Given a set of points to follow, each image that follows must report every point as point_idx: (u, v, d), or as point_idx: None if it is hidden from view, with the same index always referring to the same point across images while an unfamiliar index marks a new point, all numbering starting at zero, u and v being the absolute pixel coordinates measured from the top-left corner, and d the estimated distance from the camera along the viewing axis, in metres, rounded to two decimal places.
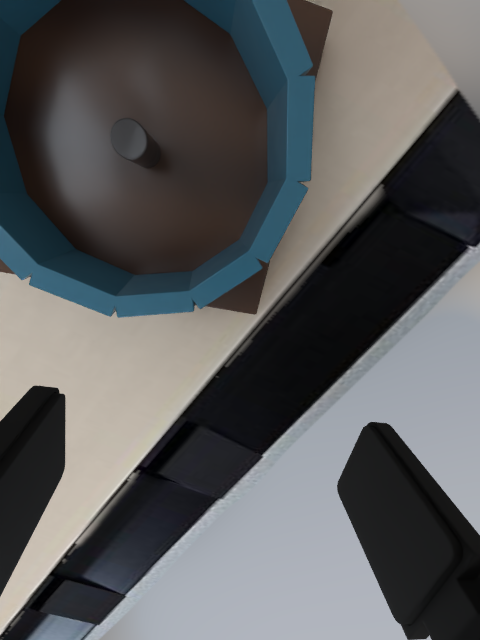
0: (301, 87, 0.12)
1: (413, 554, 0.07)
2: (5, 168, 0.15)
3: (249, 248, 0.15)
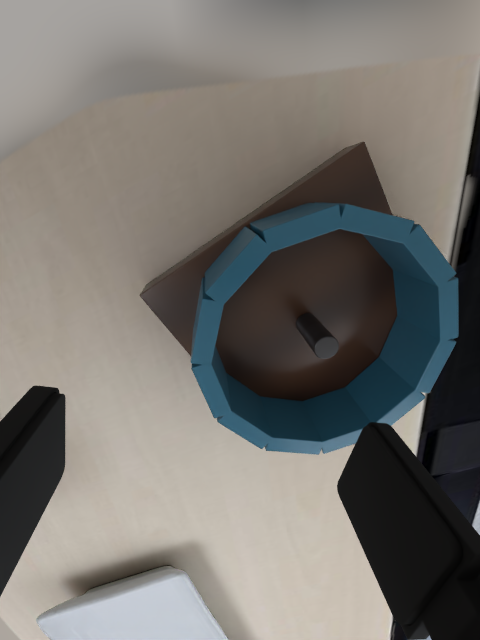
0: (415, 238, 0.16)
1: (413, 554, 0.07)
2: (252, 399, 0.22)
3: (438, 338, 0.19)
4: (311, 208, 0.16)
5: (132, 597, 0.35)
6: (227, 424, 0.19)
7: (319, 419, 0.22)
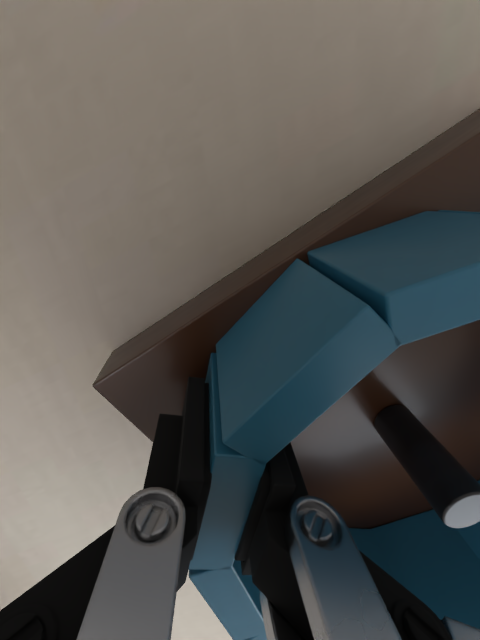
0: None
1: None
2: None
3: None
4: (479, 227, 0.07)
5: None
6: None
7: (411, 583, 0.13)
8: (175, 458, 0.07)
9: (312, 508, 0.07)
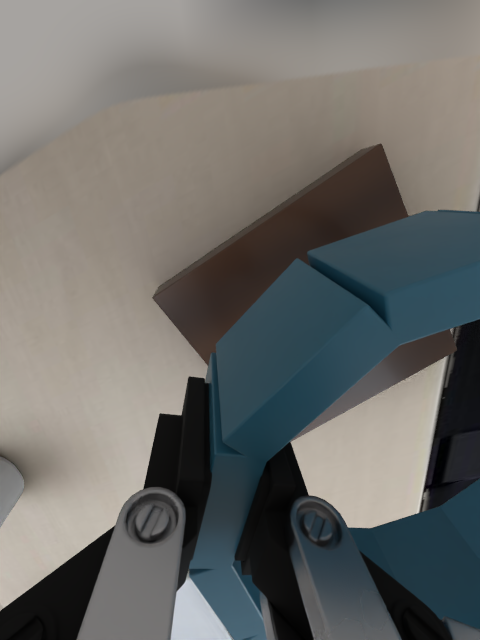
0: None
1: None
2: None
3: None
4: (478, 227, 0.07)
5: None
6: None
7: (411, 582, 0.13)
8: (175, 458, 0.07)
9: (312, 508, 0.07)
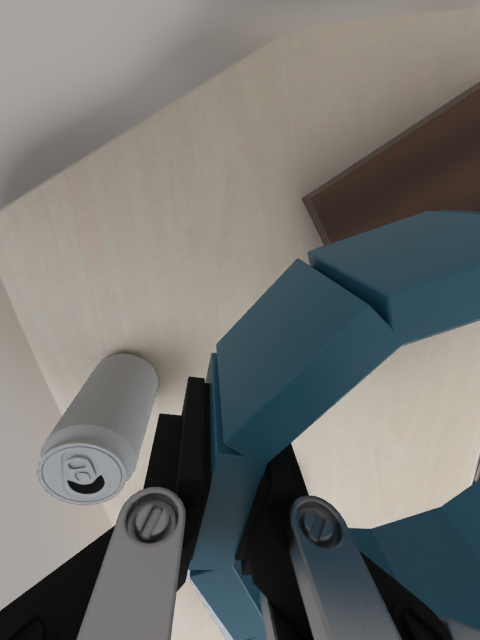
0: None
1: None
2: None
3: None
4: None
5: None
6: None
7: (411, 583, 0.13)
8: (175, 458, 0.07)
9: (312, 508, 0.07)
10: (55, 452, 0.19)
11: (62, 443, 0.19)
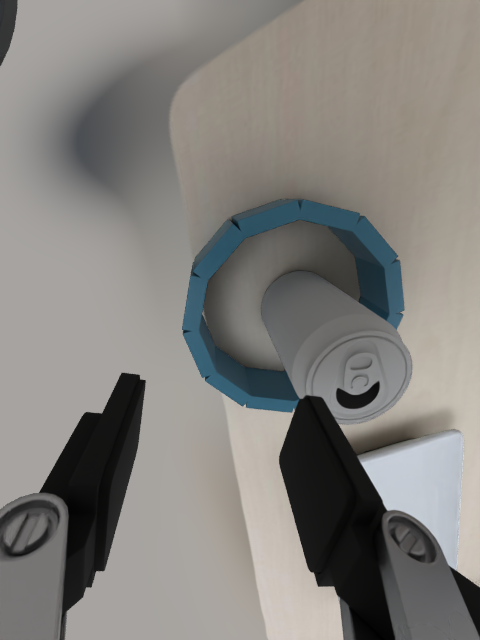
0: (361, 227, 0.19)
1: (323, 508, 0.08)
2: (236, 367, 0.26)
3: (388, 312, 0.22)
4: (278, 203, 0.20)
5: (379, 470, 0.34)
6: (213, 383, 0.23)
7: None
8: None
9: (405, 525, 0.07)
10: (338, 344, 0.14)
11: (352, 332, 0.14)
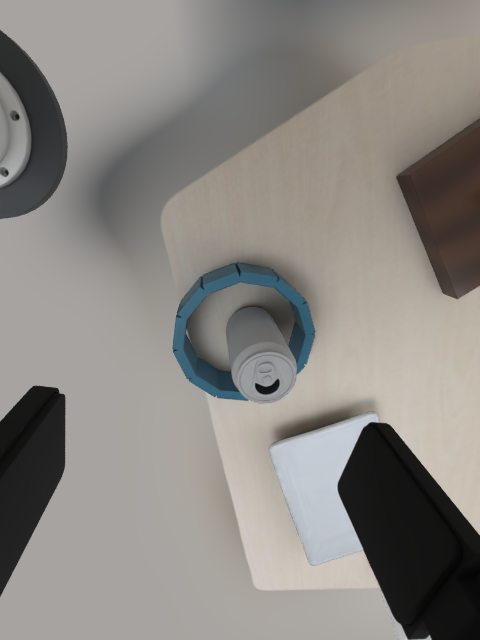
0: (279, 284, 0.32)
1: (413, 554, 0.07)
2: (212, 371, 0.39)
3: (305, 333, 0.35)
4: (229, 270, 0.32)
5: (323, 443, 0.46)
6: (194, 382, 0.35)
7: None
8: None
9: None
10: (252, 359, 0.27)
11: (258, 353, 0.26)
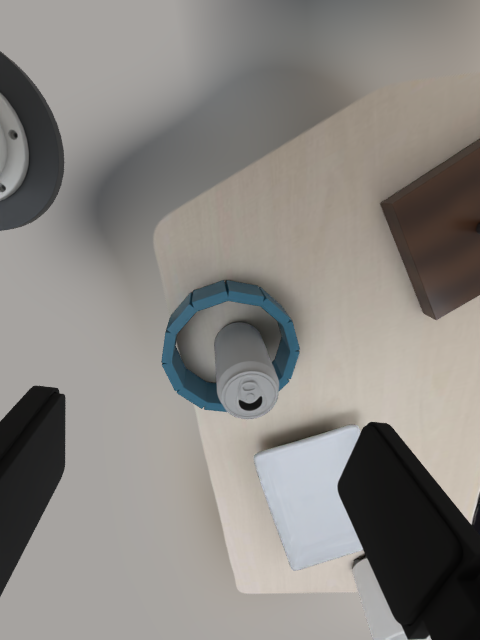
0: (265, 304, 0.33)
1: (413, 554, 0.07)
2: (200, 383, 0.40)
3: (289, 350, 0.36)
4: (218, 289, 0.34)
5: (307, 453, 0.47)
6: (182, 394, 0.37)
7: None
8: None
9: None
10: (236, 378, 0.28)
11: (242, 372, 0.28)
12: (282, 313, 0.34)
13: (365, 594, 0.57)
